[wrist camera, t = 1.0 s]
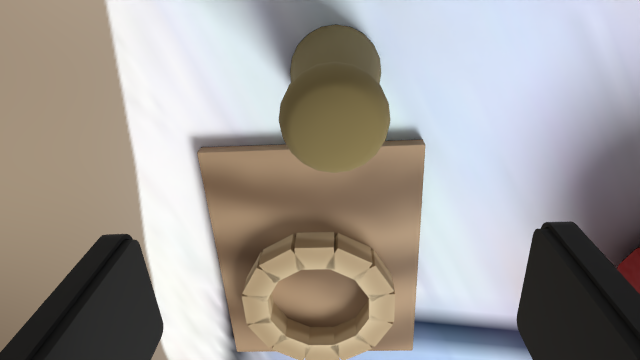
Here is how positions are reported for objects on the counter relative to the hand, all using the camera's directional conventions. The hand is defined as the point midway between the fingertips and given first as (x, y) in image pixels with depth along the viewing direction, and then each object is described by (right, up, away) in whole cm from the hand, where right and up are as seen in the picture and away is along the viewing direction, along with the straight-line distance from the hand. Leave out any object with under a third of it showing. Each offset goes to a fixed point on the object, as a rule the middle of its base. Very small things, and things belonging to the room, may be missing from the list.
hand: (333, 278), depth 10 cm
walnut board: (0, -4, +25) cm, 25 cm away
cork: (+1, +10, +18) cm, 21 cm away
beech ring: (0, -7, +26) cm, 26 cm away
